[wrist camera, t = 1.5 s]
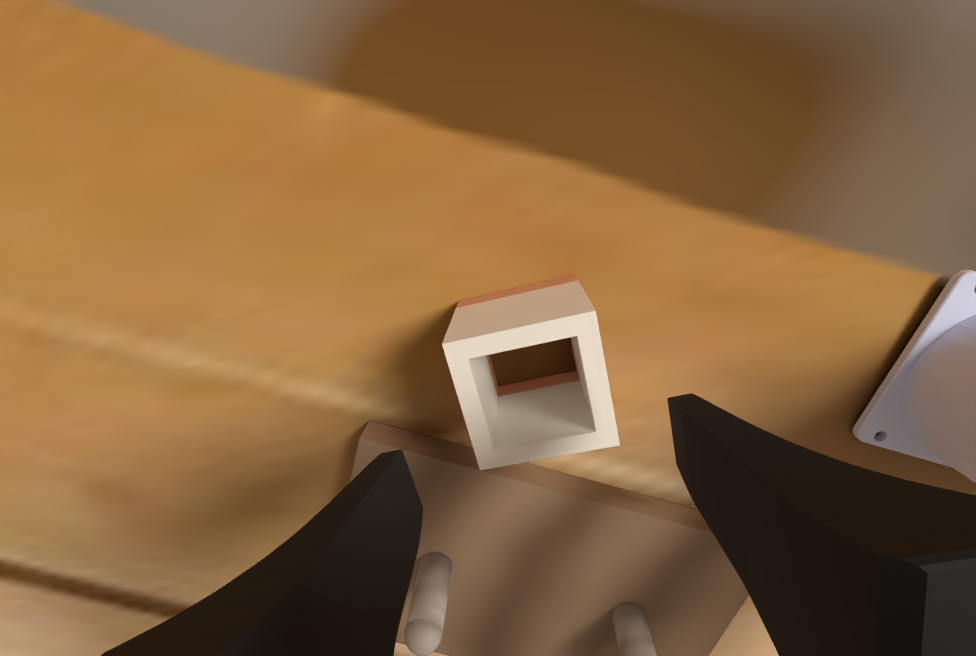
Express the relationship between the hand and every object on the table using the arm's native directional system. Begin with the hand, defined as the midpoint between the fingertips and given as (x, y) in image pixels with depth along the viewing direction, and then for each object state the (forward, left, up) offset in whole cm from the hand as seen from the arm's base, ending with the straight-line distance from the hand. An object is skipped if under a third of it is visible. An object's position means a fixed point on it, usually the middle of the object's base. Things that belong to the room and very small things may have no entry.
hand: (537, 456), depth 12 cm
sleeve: (0, 0, -8) cm, 8 cm away
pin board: (-4, +12, -8) cm, 15 cm away
